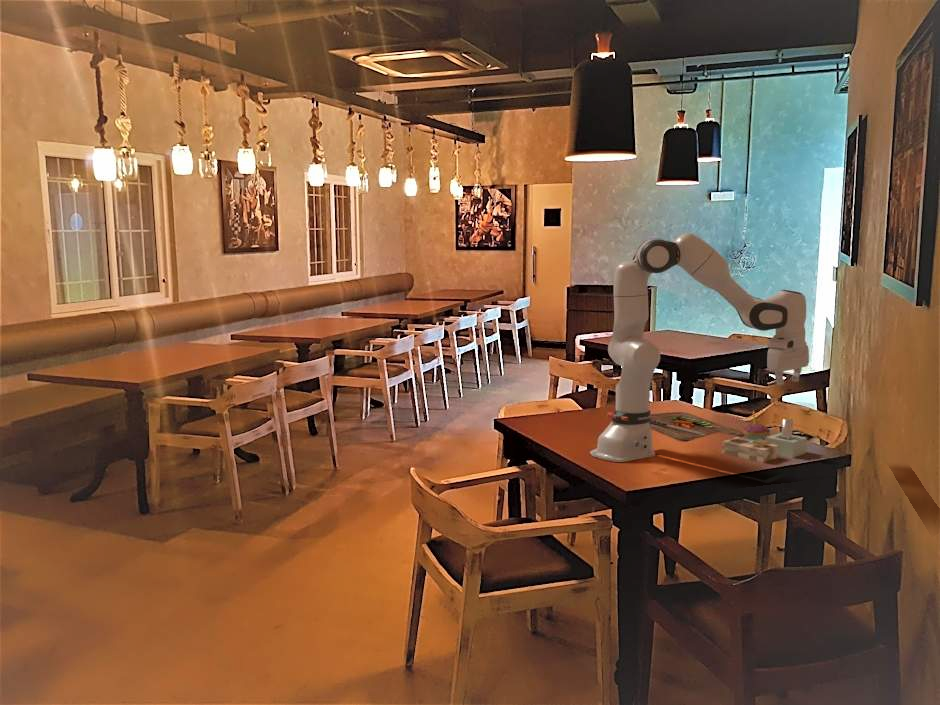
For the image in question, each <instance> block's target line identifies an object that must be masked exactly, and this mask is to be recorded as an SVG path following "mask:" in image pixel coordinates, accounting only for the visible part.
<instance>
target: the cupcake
mask: <svg viewBox="0 0 940 705" xmlns="http://www.w3.org/2000/svg"><path fill="white" fill-rule="evenodd" d="M752 418H753V420H752V421H753V423H751V424H747V425H746V426H745V427H744V428H743V435H745V437H746V439H750V440H758V439H761V440H766V439H767V437H769V436H771V431H770V429H769V428H768V426H766V425H765V424H759V423H756V411H755V409H754V408H753V410H752Z"/></svg>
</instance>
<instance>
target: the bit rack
mask: <svg viewBox="0 0 940 705" xmlns="http://www.w3.org/2000/svg"><path fill="white" fill-rule="evenodd" d="M781 435H782V432H779V433H776V434H773V435H769V436H766V439H765V440H766V441H770V444H775V445H778V456H780V457H781V456H782V457H787V458H791V459H794V458H796V457H798V456H802V455H804V454H806V453H807V448H808V447H807V446H808V445H807V444H808V438H807V437H805V436H800V435H793V434H792V440H791V441H790V440H785V439H781Z"/></svg>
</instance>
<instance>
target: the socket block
mask: <svg viewBox="0 0 940 705" xmlns="http://www.w3.org/2000/svg"><path fill="white" fill-rule="evenodd" d="M752 441H755V440H750V439H747V438H744V437H741V436H735V437H733V438H732V437H731V438H730V439H727V440H723V441H722V444H721V454H723V455H727V456H729V457H730V456H731V457H736V458H740V459H745V460H749V461H752V462H753V461H754V462H757V463H762V464H763V463H767V462H769V461H772V460H775V459H777V458H778V457H779V455H778V445H775V444H770V443H769V445H767V446H765V447H757V446H755V445H752Z"/></svg>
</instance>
